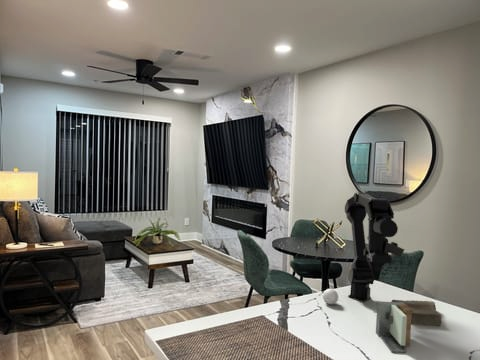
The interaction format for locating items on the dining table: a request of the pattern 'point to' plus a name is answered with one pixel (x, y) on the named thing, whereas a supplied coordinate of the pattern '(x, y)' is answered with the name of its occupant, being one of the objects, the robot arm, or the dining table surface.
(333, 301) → the seamed sphere
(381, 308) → the gray bookend
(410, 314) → the post
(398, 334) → the pale green slab
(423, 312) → the marble piece
